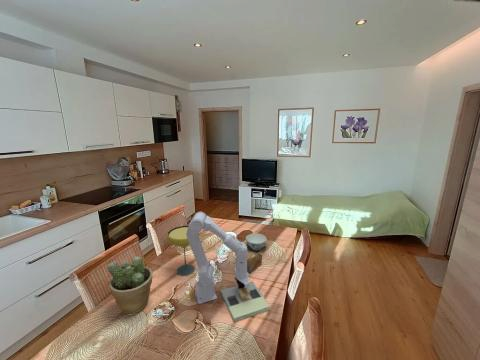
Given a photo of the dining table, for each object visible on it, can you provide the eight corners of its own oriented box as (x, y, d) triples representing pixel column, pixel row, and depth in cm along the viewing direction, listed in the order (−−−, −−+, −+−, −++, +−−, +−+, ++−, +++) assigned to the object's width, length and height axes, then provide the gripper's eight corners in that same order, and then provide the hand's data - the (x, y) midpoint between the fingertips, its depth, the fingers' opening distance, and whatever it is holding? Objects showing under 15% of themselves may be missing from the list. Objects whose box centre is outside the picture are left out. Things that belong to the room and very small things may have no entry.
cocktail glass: (164, 270, 133) (161, 232, 128) (190, 258, 146) (188, 223, 140) (180, 284, 121) (177, 242, 115) (206, 270, 133) (205, 232, 128)
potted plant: (143, 287, 119) (139, 245, 113) (162, 303, 107) (158, 257, 102) (106, 307, 105) (99, 260, 99) (124, 329, 93) (116, 277, 88)
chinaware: (267, 253, 151) (267, 243, 149) (245, 253, 151) (245, 243, 149) (265, 242, 165) (265, 233, 164) (245, 242, 166) (245, 233, 164)
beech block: (242, 301, 106) (242, 294, 105) (238, 295, 110) (238, 288, 109) (249, 298, 108) (249, 291, 107) (246, 293, 111) (246, 286, 110)
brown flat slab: (248, 275, 128) (248, 262, 126) (244, 273, 130) (244, 260, 128) (262, 263, 140) (262, 251, 138) (258, 261, 142) (258, 250, 140)
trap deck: (234, 322, 97) (234, 318, 96) (221, 293, 114) (221, 290, 113) (269, 309, 103) (269, 306, 103) (252, 284, 121) (252, 281, 120)
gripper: (255, 273, 103) (254, 298, 106) (243, 257, 117) (242, 280, 119) (241, 277, 101) (241, 302, 104) (230, 260, 114) (230, 283, 117)
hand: (241, 290), depth 111 cm, fingers closed
